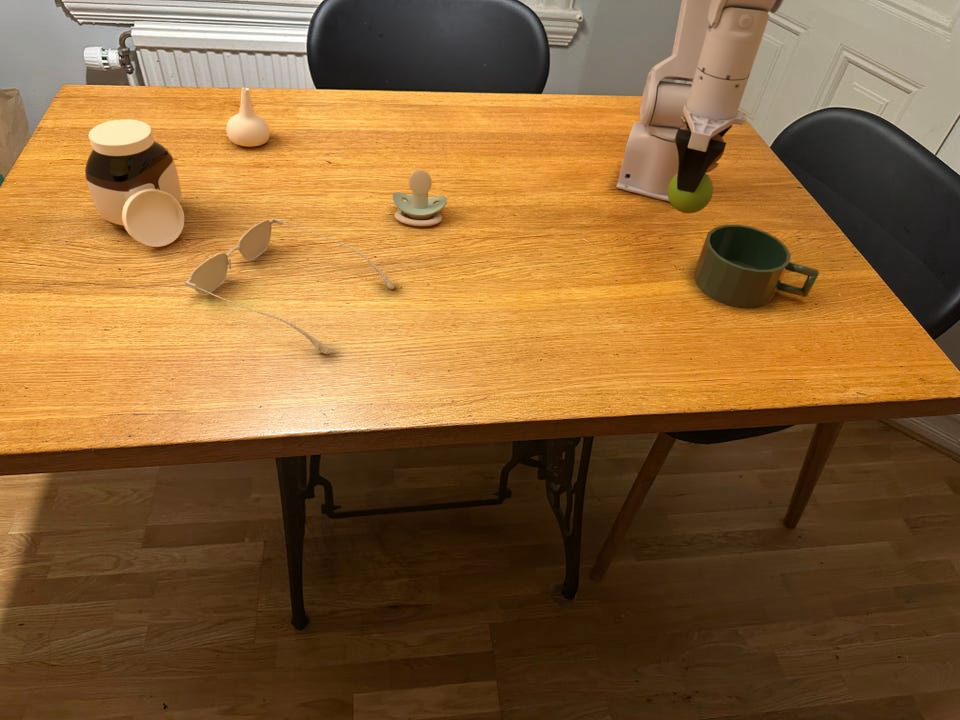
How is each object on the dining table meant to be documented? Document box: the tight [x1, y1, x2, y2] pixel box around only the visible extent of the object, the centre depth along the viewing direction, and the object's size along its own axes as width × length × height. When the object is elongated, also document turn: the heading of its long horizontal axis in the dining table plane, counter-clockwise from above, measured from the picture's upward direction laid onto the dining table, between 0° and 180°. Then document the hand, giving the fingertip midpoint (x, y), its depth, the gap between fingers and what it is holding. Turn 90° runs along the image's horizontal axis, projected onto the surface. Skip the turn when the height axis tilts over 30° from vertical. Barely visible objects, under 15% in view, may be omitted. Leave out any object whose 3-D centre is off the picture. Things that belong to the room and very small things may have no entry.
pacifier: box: [392, 169, 448, 227], centre depth 93 cm, size 7×6×6 cm
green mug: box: [693, 224, 820, 309], centre depth 86 cm, size 14×10×6 cm
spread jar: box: [84, 119, 185, 248], centre depth 85 cm, size 12×11×12 cm
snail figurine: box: [668, 117, 725, 214], centre depth 84 cm, size 5×6×12 cm
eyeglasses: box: [184, 217, 395, 355], centre depth 79 cm, size 15×18×4 cm
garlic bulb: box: [225, 87, 271, 148], centre depth 104 cm, size 6×6×8 cm
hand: (689, 181), depth 86 cm, fingers closed on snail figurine, 4 cm apart
